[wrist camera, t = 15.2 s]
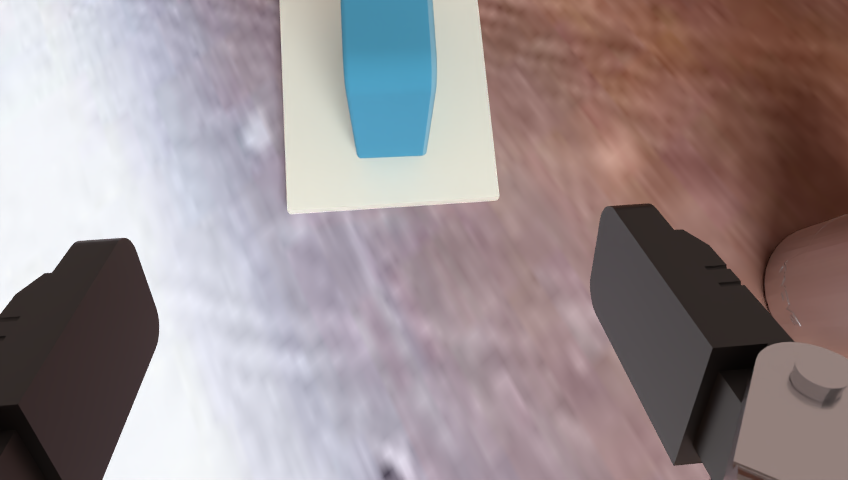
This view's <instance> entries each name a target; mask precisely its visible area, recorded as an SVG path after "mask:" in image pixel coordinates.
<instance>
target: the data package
mask: <svg viewBox="0 0 848 480" xmlns="http://www.w3.org/2000/svg"><path fill="white" fill-rule="evenodd" d="M341 26H342V52H343V70H344V81H345V90H346V96H347V102H348V108H349V113H350V119H351V125H352V130H353V136H354V142H355V147H356V153H357V156H358V157H359V158H382V157H405V156H423V155H425V154H426V152H427V147H428V140H429V133H430V127H431V120H432V114H433V107H434V101H435V94H436V87H437V53H436V39H435V25H434V11H433V0H341Z"/></svg>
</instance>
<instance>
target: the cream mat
mask: <svg viewBox="0 0 848 480" xmlns="http://www.w3.org/2000/svg"><path fill="white" fill-rule="evenodd" d="M433 11H434V25H435V39H436V53H437V87H436V94H435V101H434V107H433V114H432V120H431V127H430V133H429V140H428V147H427V152H426V154H425V155H423V156H405V157H382V158H359V157H358V156H357V153H356V147H355V142H354V136H353V130H352V125H351V119H350V113H349V108H348V102H347V96H346V90H345V81H344V70H343V52H342V26H341V0H280V27H281V54H282V81H283V108H284V135H285V162H286V189H287V211H288V212H289V214H302V213H317V212H332V211H348V210H363V209H378V208H393V207H408V206H423V205H438V204H453V203H468V202H483V201H497V200H498V198H499V188H498V179H497V170H496V161H495V152H494V143H493V134H492V126H491V117H490V108H489V99H488V90H487V81H486V72H485V63H484V54H483V45H482V36H481V27H480V18H479V9H478V0H433Z"/></svg>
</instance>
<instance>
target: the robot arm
mask: <svg viewBox="0 0 848 480" xmlns="http://www.w3.org/2000/svg"><path fill="white" fill-rule="evenodd" d="M764 284H765V295H766V300H767V303H768V306H769V310H770V312H771V314H772V316H773V317H772V316H771V314H770V313H769V312H768V311H767V310H766V309H765V308H764V307H763V305H762V304H761V303H760V302H759V301H758V300H757V299H756V298H755V296H754V295H753V294H752V293H751V292H750V291H749V290H748V289H747V287H746V286H745V285H741V281H740V280H739V278H738V277H737V276H736V275H735V274H734V273H733V272H732V271H731V269H727V268H726V264H725V263H724V262H723V260H722V259H721V258H720V257H719V256H718V255H717V254H716V253H715V251H714V250H713V249H712V248H711V247H710V246H709V245H708V244H706V243H704V242H703V241H701V240H699V239H698V238H696V237H694V236H693V235H691V234H689V233H688V232H686V231H684V230H674V229H673V228H672V227H671V226H670V225H669V223H668V222H667V221H666V220H665V219H664V217H663V216H662V215H661V214H660V212H659V211H658V210H657V209H656V208H655V207H654V206H653V205H652V204H634V205H620V206H608V207H606V208H605V209H604V210H603V212H602V214H601V218H600V223H599V229H598V236H597V242H596V248H595V254H594V260H593V266H592V272H591V279H590V292H591V299H592V304H593V308H594V310H595V313H596V315H597V317H598V319H599V321H600V323H601V325H602V327H603V329H604V331H605V333H606V335H607V336H608V338H609V340H610V342H611V344H612V346H613V348H614V350H615V352H616V354H617V356H618V358H619V360H620V362H621V364H622V366H623V368H624V370H625V372H626V374H627V375H628V377H629V379H630V381H631V383H632V385H633V387H634V389H635V391H636V393H637V395H638V397H639V399H640V401H641V403H642V405H643V407H644V409H645V411H646V413H647V415H648V416H649V418H650V420H651V422H652V424H653V426H654V428H655V430H656V432H657V434H658V436H659V438H660V440H661V442H662V444H663V446H664V448H665V450H666V452H667V454H668V455H669V457H670V459H671V461H672V463H673V465H674V466H675V465H685V464H696V463H703V465H704V466H705V468H706V470H707V472H708V473H709V475H710V479H709V480H848V214H846V215H843V216H840V217H837V218H834V219H831V220H828V221H825V222H822V223H819V224H816V225H813V226H810V227H807V228H804V229H801V230H798V231H796V232H794V233H793V234H791V235H789V236H787V237H786V238H785V239H784V240H783V241H782V242H781V243H780V244H779V245H778V246H777V247H776V249H775V250H774V252H773V253H772V255H771V256H770V259H769V262H768V265H767V268H766V273H765V282H764ZM158 337H159V319H158V313H157V309H156V306H155V303H154V300H153V297H152V295H151V292H150V289H149V286H148V283H147V280H146V277H145V275H144V272H143V269H142V266H141V263H140V260H139V257H138V255H137V252H136V249H135V247H134V245H133V244H132V242H131V241H130V240H129V239H127V238H115V239H100V240H86V241H77V242H75V243H74V244H73V245H72V246H71V247H70V249H69V250H68V252H67V253H66V254H65V256H64V257H63V259H62V260H61V261H60V263H59V264H58V265H57V267H56V268H55V270H54V271H53V272H52V273H44V274H43V275H42V276H40V277H39V278H38V279H36V280H35V281H33V282H32V283H31V284H29V285H28V286H27V287H25V288H24V289H22V290H21V291H20V292H18V293H17V294H16V295H15V296H14V297H13V299H12V300H11V301H10V302H9V304H8V305H7V306H6V308H5V309H4V310H3V311H2V313H1V314H0V480H102V479H103V477H104V474H105V472H106V469H107V467H108V464H109V462H110V459H111V457H112V454H113V452H114V449H115V447H116V445H117V442H118V440H119V437H120V435H121V432H122V430H123V427H124V425H125V422H126V420H127V417H128V415H129V413H130V410H131V408H132V405H133V403H134V400H135V398H136V395H137V393H138V390H139V388H140V386H141V383H142V381H143V378H144V376H145V373H146V371H147V368H148V366H149V363H150V361H151V358H152V356H153V354H154V351H155V349H156V346H157V342H158Z"/></svg>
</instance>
